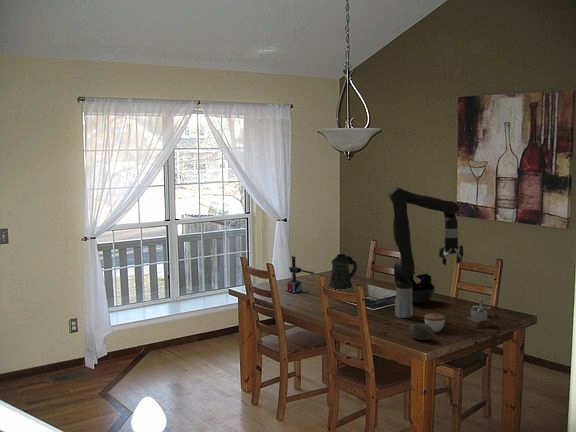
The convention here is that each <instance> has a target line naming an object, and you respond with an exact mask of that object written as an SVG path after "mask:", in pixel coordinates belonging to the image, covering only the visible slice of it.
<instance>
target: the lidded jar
mask: <svg viewBox="0 0 576 432" xmlns="http://www.w3.org/2000/svg"><path fill="white" fill-rule="evenodd" d="M445 319H446V316H445V315H444V314H441V313H436V312H433V313H426V314H425V315H424V324H427V325H429V326H430V327H431V328H432V330H433V332H434V333H436V332H437V333H438V332H441V330H442V329H443V328H444V326H445V323H446V322H445Z"/></svg>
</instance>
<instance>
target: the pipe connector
mask: <svg viewBox="0 0 576 432" xmlns="http://www.w3.org/2000/svg"><path fill="white" fill-rule="evenodd" d="M474 307H481V309H483V310H485V311H487V310H488V311H491V306H485V305H484V298H479V305H472V307H471V308H474Z"/></svg>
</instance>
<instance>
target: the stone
mask: <svg viewBox="0 0 576 432" xmlns="http://www.w3.org/2000/svg"><path fill="white" fill-rule="evenodd" d="M407 328H408V331H409V334H410V335H411V337H412V338H414V339H416V340H419V341H431V340H433V339H434V338H435V336H436V335H435V332H433V330H432V328H431V327H430V326H429V325H427V324H425V323H417V322H416V323H412V324H410V325H408V327H407Z"/></svg>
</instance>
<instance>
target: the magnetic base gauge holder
mask: <svg viewBox="0 0 576 432" xmlns="http://www.w3.org/2000/svg"><path fill="white" fill-rule="evenodd" d="M290 258H291V265H292V266H288V269H289V272H290V273H292V280H289V281H287V285H286V286H287V290H285V292H287V293H290V294H298V293H303V292H304V290H303V289H302V288H303V287H302V284H303V283H302V281H300V280H298V279H297V275H296V274H299V273H305V274H306V273H307V274H310V275H314V274H315V271H309V270H305V269H302V268H301V267H298V266H296V258H297V257H296V256H293V255H292V256H290ZM289 290H291V291H289ZM298 290H299V291H298ZM293 291H295V292H293Z"/></svg>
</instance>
